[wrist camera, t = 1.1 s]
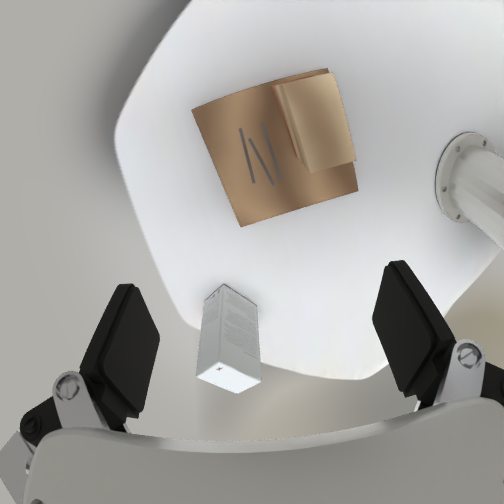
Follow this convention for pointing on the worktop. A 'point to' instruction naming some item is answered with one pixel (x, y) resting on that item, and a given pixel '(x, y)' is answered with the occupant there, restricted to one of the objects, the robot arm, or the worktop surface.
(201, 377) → the skincare box
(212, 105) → the brown flat square slab
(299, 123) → the block
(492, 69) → the worktop surface
